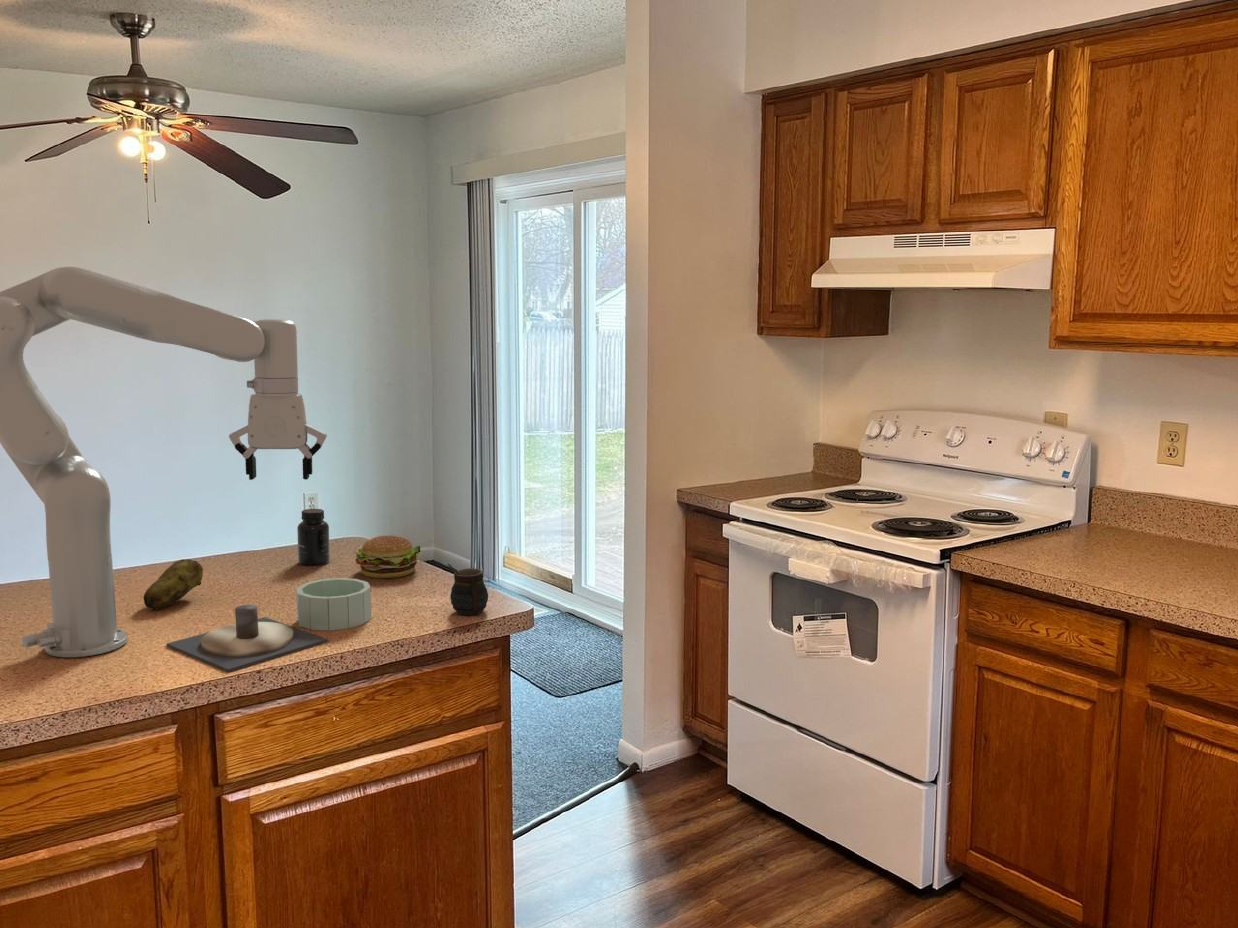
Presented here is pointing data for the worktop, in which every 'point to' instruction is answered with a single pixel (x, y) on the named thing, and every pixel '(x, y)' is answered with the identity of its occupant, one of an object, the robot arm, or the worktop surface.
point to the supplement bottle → (313, 538)
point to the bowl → (333, 604)
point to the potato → (174, 583)
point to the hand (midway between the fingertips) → (279, 478)
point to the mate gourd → (468, 591)
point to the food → (387, 557)
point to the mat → (232, 663)
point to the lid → (247, 635)
